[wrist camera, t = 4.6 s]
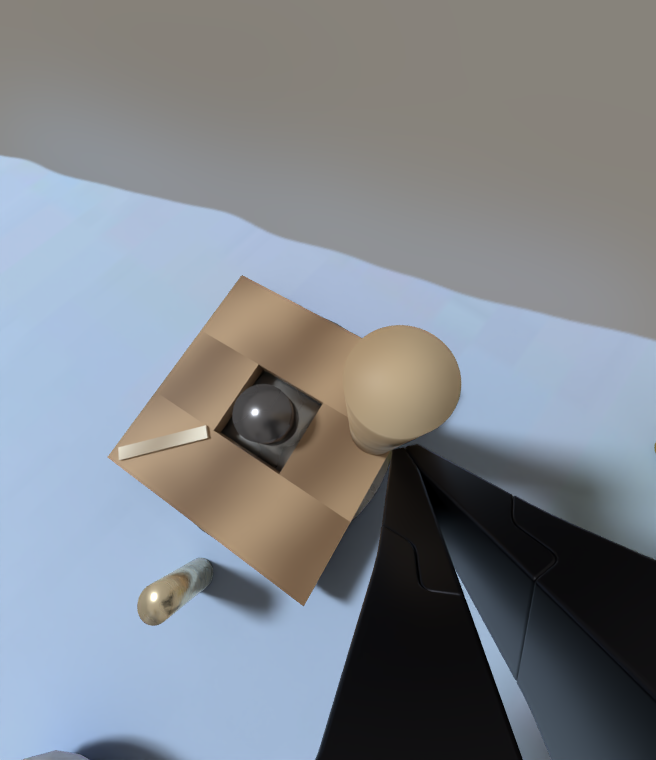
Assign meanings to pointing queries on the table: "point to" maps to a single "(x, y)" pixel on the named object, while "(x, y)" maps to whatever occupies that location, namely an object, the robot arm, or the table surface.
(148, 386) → the table surface
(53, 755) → the perfume bottle
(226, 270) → the table surface
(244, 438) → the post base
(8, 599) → the table surface
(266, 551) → the flange plate
